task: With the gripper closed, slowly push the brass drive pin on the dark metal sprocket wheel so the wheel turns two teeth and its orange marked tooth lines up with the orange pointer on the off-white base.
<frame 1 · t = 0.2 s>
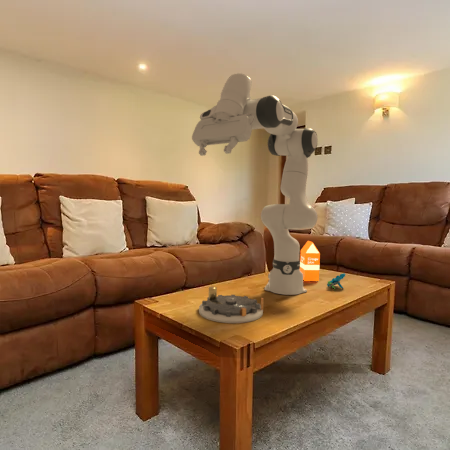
hand: (213, 153, 100), 54 cm above the table, tool tilted 30°, fingers open, 8 cm apart
orange juice: (308, 279, 173), on the table
teal green toy figure: (335, 288, 157), on the table
sprocket base: (230, 311, 120), on the table
sprocket: (231, 299, 119), point 5 cm above the table, hinge at 0.0°
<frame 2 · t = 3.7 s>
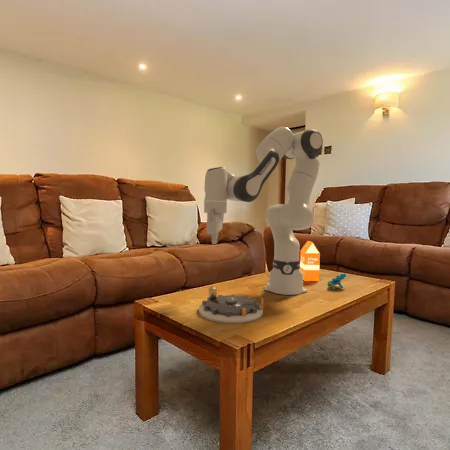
hand: (214, 243, 131), 23 cm above the table, tool pointing down, fingers closed
nothing on the table moved.
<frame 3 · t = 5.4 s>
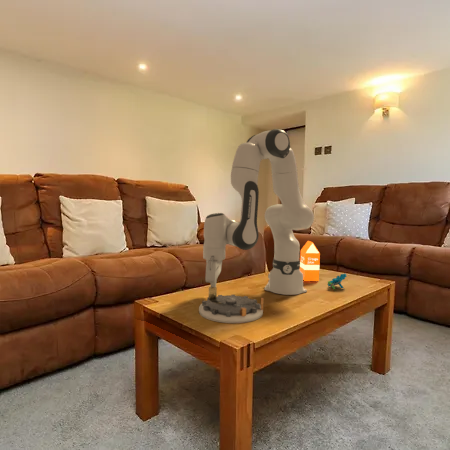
hand: (213, 288, 132), 5 cm above the table, tool pointing down, fingers closed
nothing on the table moved.
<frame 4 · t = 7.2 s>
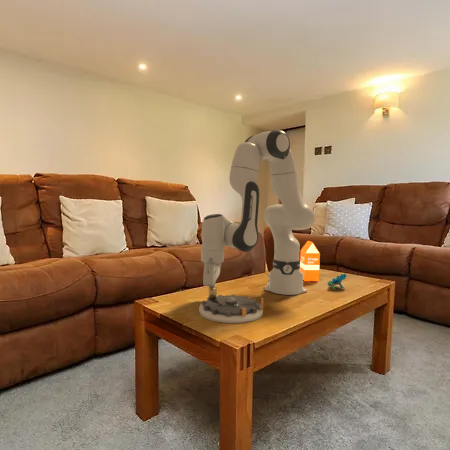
hand: (211, 292, 128), 5 cm above the table, tool pointing down, fingers closed
sprocket: (231, 299, 119), point 5 cm above the table, hinge at 0.1°, touching gripper
everything else where it was.
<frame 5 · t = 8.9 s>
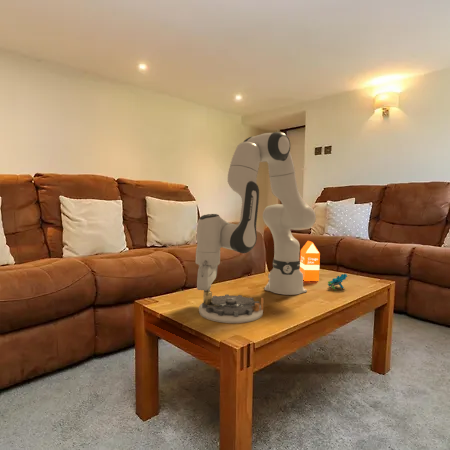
hand: (206, 296, 121), 5 cm above the table, tool pointing down, fingers closed
sprocket: (231, 299, 119), point 5 cm above the table, hinge at 44.4°, touching gripper
everything else where it was.
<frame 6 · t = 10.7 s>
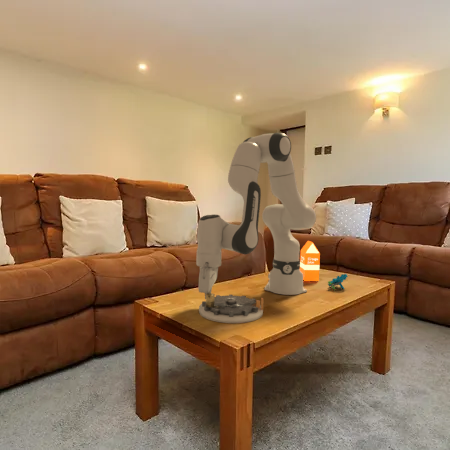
hand: (207, 298, 119), 5 cm above the table, tool pointing down, fingers closed
sprocket: (231, 299, 119), point 5 cm above the table, hinge at 65.2°, touching gripper
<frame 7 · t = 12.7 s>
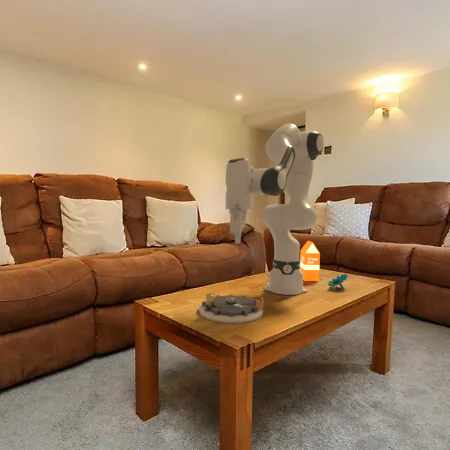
hand: (237, 242, 119), 25 cm above the table, tool pointing down, fingers closed
sprocket: (231, 299, 119), point 5 cm above the table, hinge at 65.3°
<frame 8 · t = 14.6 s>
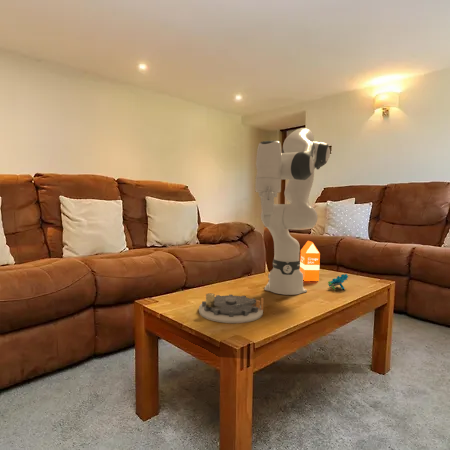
hand: (266, 226, 116), 31 cm above the table, tool pointing down, fingers closed
at the end: sprocket at +65° (first picture: +0°); teal green toy figure moved 1.5 cm from its start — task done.
